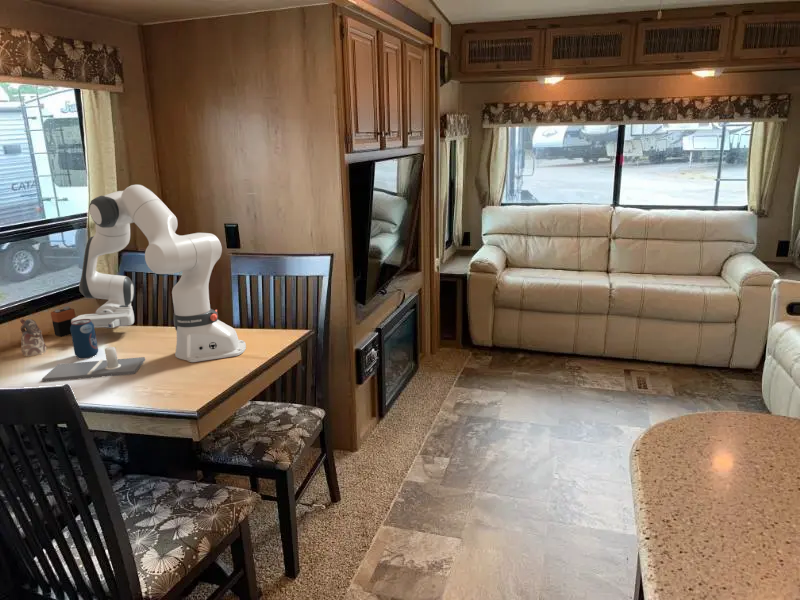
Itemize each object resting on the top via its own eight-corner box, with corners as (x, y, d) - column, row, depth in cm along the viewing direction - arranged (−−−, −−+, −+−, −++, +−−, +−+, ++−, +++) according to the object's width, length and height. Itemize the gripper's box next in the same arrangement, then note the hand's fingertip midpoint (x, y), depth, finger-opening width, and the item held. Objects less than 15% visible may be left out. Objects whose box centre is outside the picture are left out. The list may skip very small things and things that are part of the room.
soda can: (99, 356, 194) (93, 322, 190) (75, 361, 190) (69, 325, 187) (98, 350, 199) (92, 317, 196) (75, 354, 196) (68, 320, 193)
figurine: (35, 356, 196) (28, 322, 192) (17, 355, 197) (10, 321, 194) (51, 349, 202) (45, 316, 199) (34, 348, 204) (27, 315, 201)
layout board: (145, 359, 189) (141, 339, 187) (134, 373, 178) (131, 352, 176) (58, 367, 186) (54, 346, 184) (42, 381, 174) (38, 359, 172)
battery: (79, 332, 221) (74, 306, 218) (61, 337, 215) (55, 311, 213) (72, 330, 223) (67, 305, 221) (54, 335, 218) (49, 309, 215)
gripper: (77, 309, 215) (62, 320, 202) (136, 305, 218) (125, 315, 205) (80, 326, 217) (66, 337, 204) (138, 321, 220) (128, 333, 207)
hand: (96, 326), depth 204 cm, fingers open, 8 cm apart
